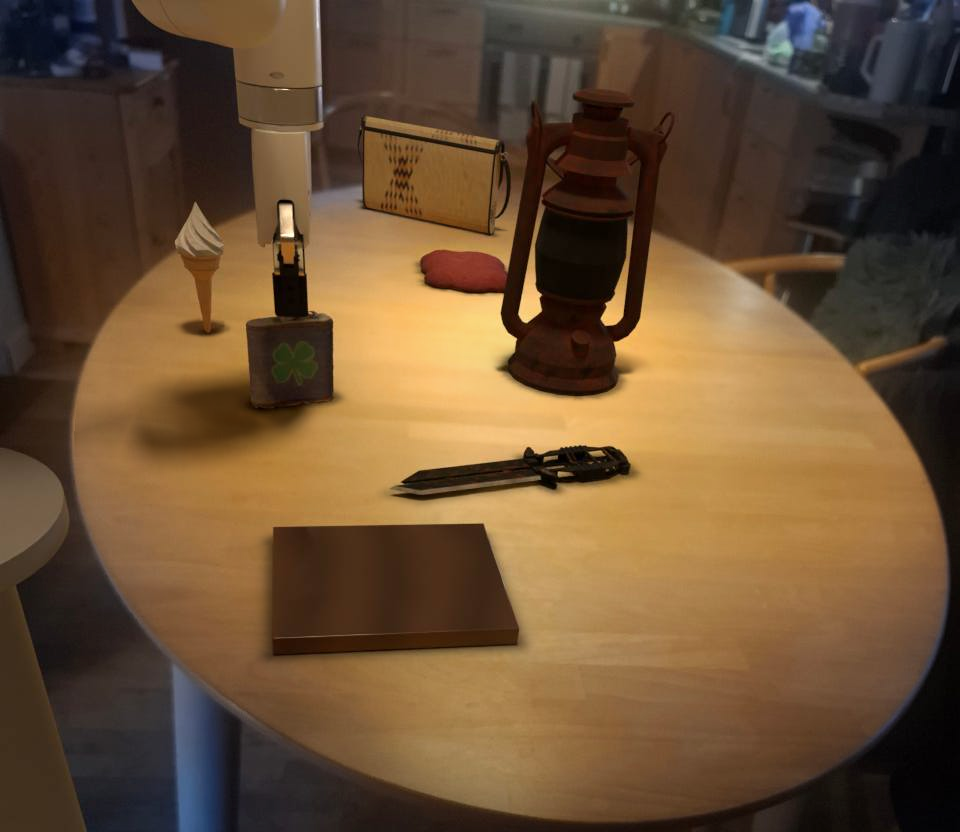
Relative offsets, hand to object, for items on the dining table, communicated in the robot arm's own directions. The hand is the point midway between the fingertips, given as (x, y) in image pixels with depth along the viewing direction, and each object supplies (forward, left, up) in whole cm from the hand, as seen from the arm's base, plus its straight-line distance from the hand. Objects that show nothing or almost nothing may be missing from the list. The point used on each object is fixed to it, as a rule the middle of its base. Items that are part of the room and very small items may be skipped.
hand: (291, 298), depth 91 cm
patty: (+27, +47, -11) cm, 55 cm away
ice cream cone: (-10, +20, -11) cm, 25 cm away
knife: (+21, -18, -11) cm, 30 cm away
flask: (0, 0, -11) cm, 11 cm away
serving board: (+7, -36, -11) cm, 38 cm away
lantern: (+33, +9, -11) cm, 36 cm away
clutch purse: (+26, +80, -11) cm, 85 cm away
